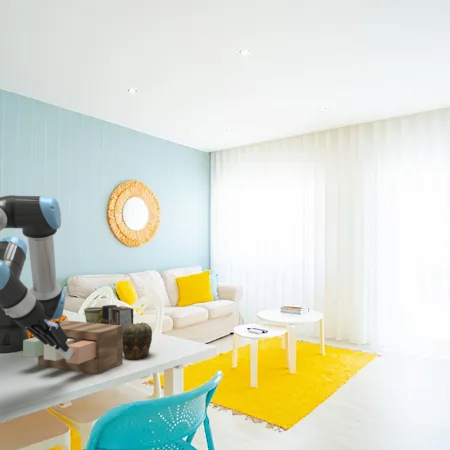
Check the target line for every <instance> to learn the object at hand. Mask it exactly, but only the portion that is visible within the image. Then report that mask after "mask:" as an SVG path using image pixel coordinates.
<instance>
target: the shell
mask: <svg viewBox="0 0 450 450" xmlns="http://www.w3.org/2000/svg"><path fill="white" fill-rule="evenodd" d="M152 338H153V330H152V327H151V326H150V325H149V324H148V323H146V322H136V323H133V324H131V325H129V326H127V327H126V328H125V330H124V333H123V356H124V358H125V359H127V360H131V361H135V360H140V359H141V360H142V359H145V358H146V357H148V356H149V353H150V348H151V344H152V341H153V339H152Z"/></svg>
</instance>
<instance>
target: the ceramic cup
mask: <svg viewBox="0 0 450 450" xmlns="http://www.w3.org/2000/svg"><path fill="white" fill-rule="evenodd" d="M83 310H84V317H85V322H88V323H99V324H102V306H90V307H86V308H84V309H83Z"/></svg>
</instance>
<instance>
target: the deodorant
mask: <svg viewBox="0 0 450 450" xmlns="http://www.w3.org/2000/svg"><path fill="white" fill-rule="evenodd" d="M101 307H102V324H109V308H113V307H118V305H116V304H106V305H102V306H101Z"/></svg>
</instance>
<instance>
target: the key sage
mask: <svg viewBox="0 0 450 450" xmlns="http://www.w3.org/2000/svg"><path fill="white" fill-rule="evenodd" d="M41 355H44V343H42V342H41V341H40V340H39V339H37V338H36V337H35V336H34V337H32V338H29V339H27V340H23V350H22V356H23V357H27V358H34V359H35V358H38V356H41Z"/></svg>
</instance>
